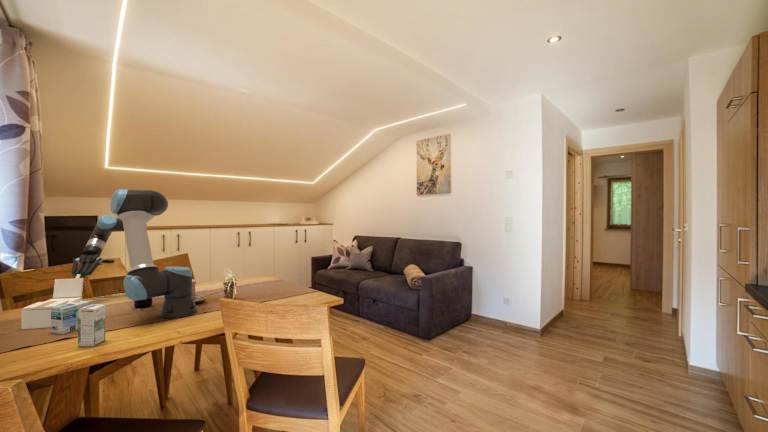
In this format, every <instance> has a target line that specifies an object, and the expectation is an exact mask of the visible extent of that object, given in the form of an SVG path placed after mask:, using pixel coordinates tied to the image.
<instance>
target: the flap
mask: <svg viewBox="0 0 768 432" xmlns="http://www.w3.org/2000/svg"><path fill="white" fill-rule="evenodd" d="M84 280H85V278H74V277H73V278H55V279H54V285H53V292H52V299H57V298H78V297H83V292H84V291H83V289H84Z"/></svg>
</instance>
